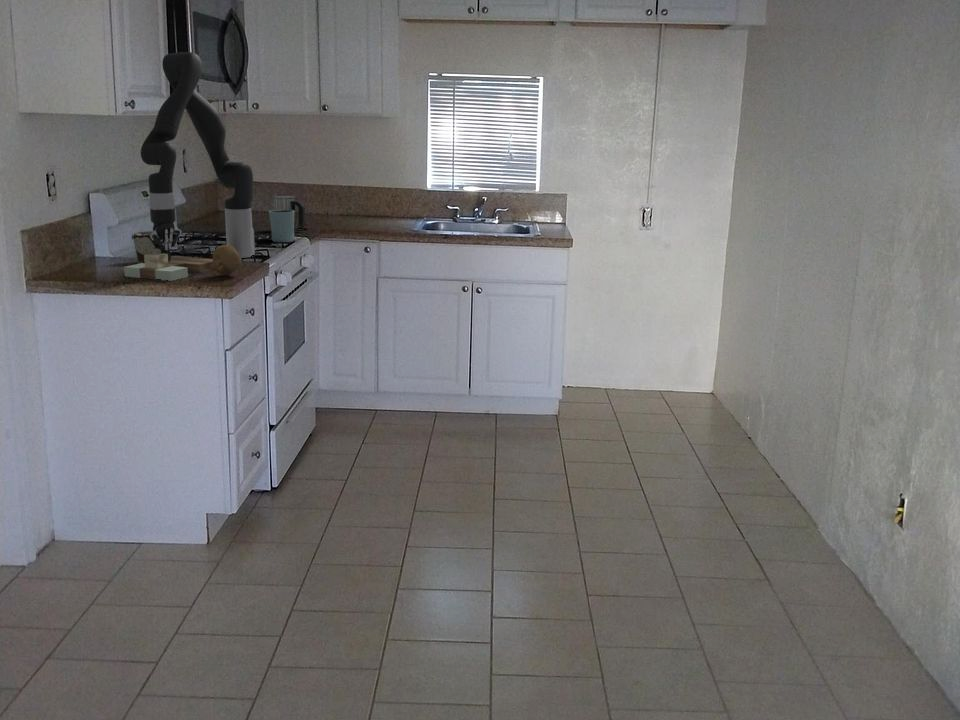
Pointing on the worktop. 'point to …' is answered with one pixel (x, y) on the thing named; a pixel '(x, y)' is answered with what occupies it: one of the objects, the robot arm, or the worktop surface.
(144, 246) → the food container
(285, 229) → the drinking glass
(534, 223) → the worktop surface
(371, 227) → the worktop surface
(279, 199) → the milk frother
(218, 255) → the natural sponge
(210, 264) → the trap deck
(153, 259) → the birch block
